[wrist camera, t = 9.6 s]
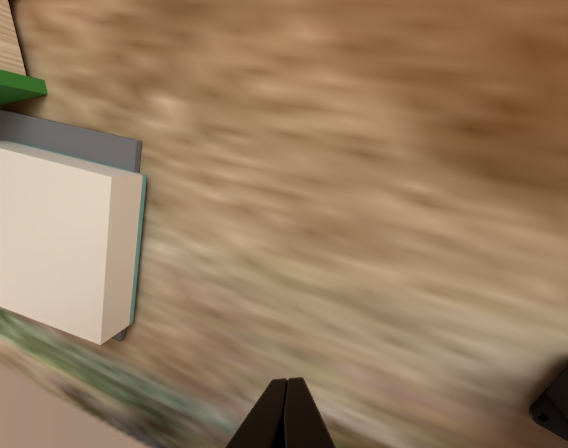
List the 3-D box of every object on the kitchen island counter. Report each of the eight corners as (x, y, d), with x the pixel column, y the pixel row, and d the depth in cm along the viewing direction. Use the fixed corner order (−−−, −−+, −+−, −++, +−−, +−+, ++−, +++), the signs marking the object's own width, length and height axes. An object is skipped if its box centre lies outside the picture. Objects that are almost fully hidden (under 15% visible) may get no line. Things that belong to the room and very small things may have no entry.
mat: (141, 141, 21) (136, 140, 20) (124, 338, 24) (120, 341, 24) (0, 109, 23) (-8, 108, 22) (4, 293, 27) (-3, 295, 26)
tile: (111, 177, 18) (-37, 138, 20) (100, 345, 20) (-29, 295, 22) (146, 174, 20) (14, 141, 23) (132, 322, 23) (15, 280, 25)
